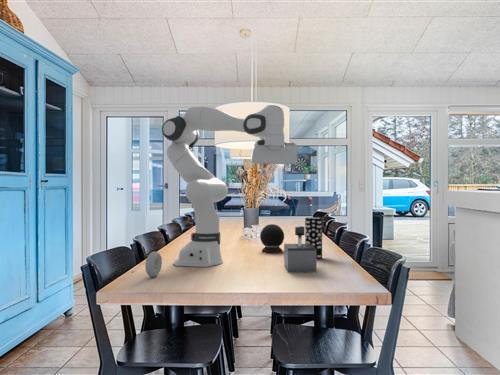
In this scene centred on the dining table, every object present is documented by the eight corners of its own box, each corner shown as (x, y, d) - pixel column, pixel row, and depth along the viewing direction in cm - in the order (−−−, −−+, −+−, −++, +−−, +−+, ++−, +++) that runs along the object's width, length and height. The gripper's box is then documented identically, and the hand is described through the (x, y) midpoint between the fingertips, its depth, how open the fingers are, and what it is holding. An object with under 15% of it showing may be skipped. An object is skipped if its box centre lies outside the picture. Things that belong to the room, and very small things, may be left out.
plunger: (292, 267, 156) (292, 227, 156) (289, 264, 164) (289, 225, 164) (310, 267, 156) (310, 227, 156) (306, 263, 164) (306, 225, 164)
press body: (287, 272, 154) (287, 248, 154) (284, 266, 166) (284, 243, 166) (316, 272, 154) (316, 248, 154) (310, 265, 166) (310, 243, 166)
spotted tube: (322, 260, 179) (322, 218, 179) (304, 259, 181) (304, 218, 181) (322, 256, 187) (322, 217, 187) (305, 256, 189) (305, 217, 189)
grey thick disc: (151, 280, 141) (151, 254, 141) (143, 279, 141) (143, 253, 141) (163, 274, 150) (163, 249, 150) (155, 273, 151) (155, 249, 151)
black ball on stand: (268, 248, 212) (268, 222, 212) (288, 251, 204) (288, 224, 204) (255, 252, 201) (255, 224, 201) (276, 254, 193) (276, 226, 193)
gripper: (296, 143, 165) (296, 174, 165) (250, 143, 164) (250, 174, 164) (299, 141, 159) (298, 174, 159) (251, 141, 158) (251, 173, 158)
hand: (274, 174), depth 161 cm, fingers open, 8 cm apart
